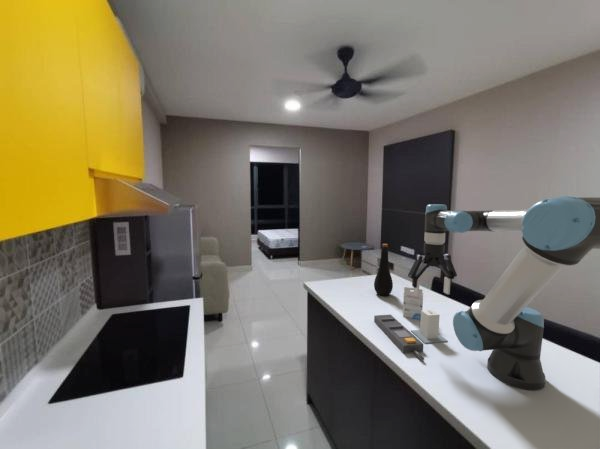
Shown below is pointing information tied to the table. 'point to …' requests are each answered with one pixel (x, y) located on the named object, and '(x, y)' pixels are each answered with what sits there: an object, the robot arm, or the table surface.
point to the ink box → (412, 303)
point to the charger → (429, 324)
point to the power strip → (399, 334)
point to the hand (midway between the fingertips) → (431, 294)
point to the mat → (423, 339)
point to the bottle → (383, 275)
